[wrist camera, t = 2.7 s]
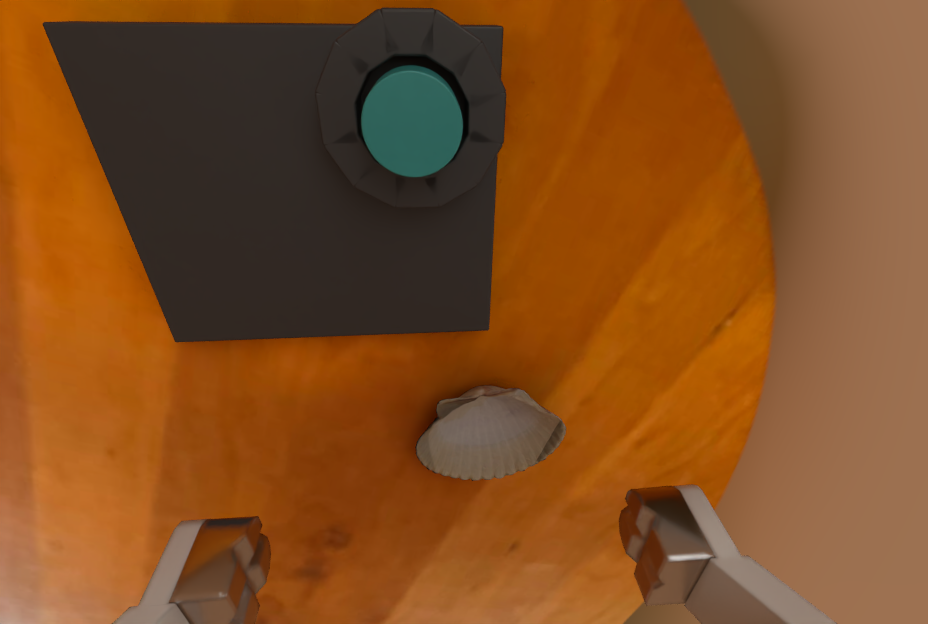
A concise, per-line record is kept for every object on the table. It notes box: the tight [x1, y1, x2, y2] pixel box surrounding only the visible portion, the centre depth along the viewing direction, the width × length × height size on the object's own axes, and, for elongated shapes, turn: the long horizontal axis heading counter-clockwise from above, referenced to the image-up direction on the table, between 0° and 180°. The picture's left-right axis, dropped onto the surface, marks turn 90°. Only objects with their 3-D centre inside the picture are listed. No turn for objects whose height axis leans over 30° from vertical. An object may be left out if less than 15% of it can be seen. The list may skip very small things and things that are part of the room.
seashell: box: [416, 385, 566, 481], centre depth 25 cm, size 8×3×8 cm
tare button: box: [361, 65, 463, 177], centre depth 14 cm, size 3×3×2 cm
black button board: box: [43, 8, 506, 342], centre depth 17 cm, size 14×12×3 cm
